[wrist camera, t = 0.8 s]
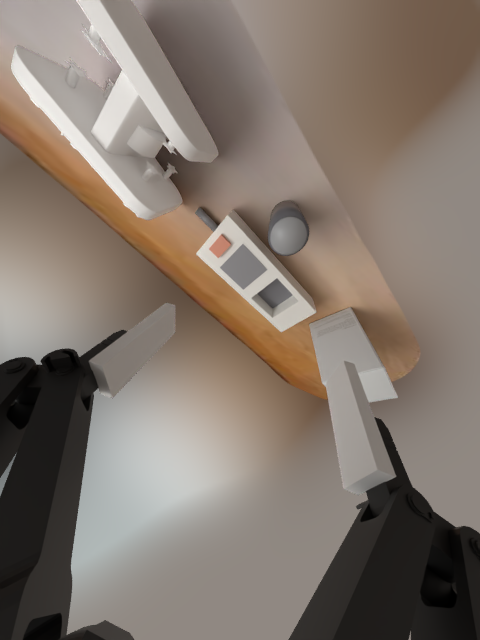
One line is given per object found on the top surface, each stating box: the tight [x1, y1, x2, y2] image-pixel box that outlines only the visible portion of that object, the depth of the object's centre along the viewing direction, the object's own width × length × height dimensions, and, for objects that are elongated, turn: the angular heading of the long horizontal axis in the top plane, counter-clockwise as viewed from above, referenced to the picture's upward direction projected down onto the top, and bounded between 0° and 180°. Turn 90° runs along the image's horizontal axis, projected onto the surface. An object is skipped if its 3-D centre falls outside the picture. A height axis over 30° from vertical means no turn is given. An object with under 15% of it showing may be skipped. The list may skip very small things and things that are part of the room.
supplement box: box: [309, 307, 398, 402], centre depth 35 cm, size 9×9×15 cm
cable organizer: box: [11, 0, 219, 220], centre depth 20 cm, size 15×11×12 cm
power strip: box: [195, 207, 316, 332], centre depth 33 cm, size 26×8×5 cm, turn 46°
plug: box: [268, 201, 309, 256], centre depth 25 cm, size 5×5×10 cm
